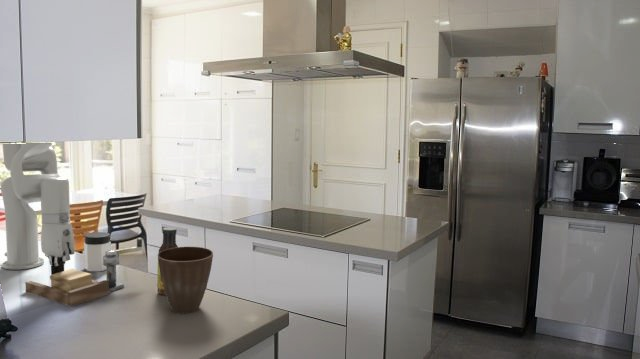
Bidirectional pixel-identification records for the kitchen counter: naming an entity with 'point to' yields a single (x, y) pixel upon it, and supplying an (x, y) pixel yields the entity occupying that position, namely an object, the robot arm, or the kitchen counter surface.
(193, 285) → the plant pot
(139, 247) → the crank
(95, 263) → the jar
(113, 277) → the winch post
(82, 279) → the tan wooden block
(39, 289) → the bay
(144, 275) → the kitchen counter surface
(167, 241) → the sauce bottle
